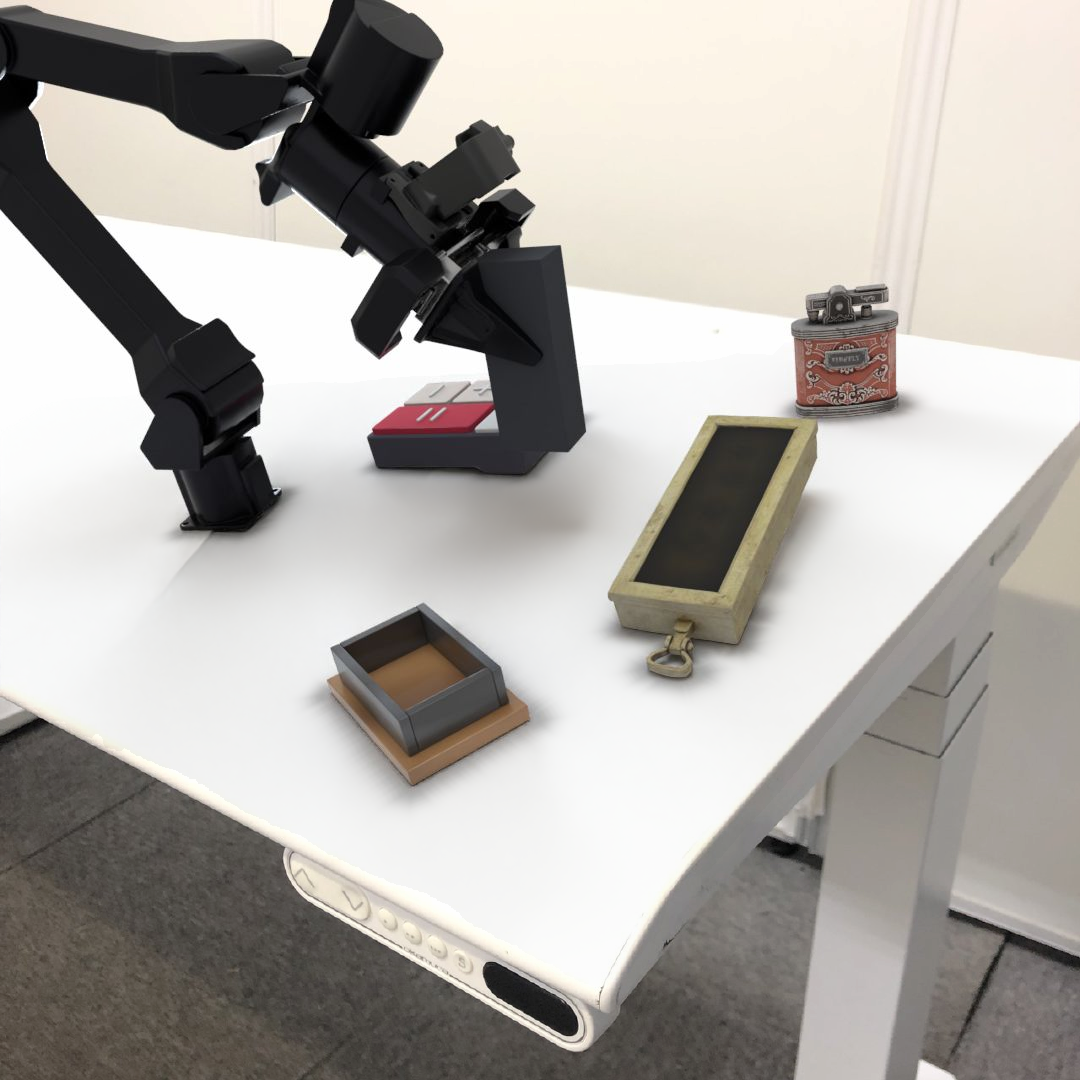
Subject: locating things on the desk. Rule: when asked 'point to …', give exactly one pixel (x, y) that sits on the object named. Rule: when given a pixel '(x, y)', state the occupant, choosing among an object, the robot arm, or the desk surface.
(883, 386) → the lighter
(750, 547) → the box
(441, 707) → the grey tray
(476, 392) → the calculator
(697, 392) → the desk surface
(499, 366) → the back pad
